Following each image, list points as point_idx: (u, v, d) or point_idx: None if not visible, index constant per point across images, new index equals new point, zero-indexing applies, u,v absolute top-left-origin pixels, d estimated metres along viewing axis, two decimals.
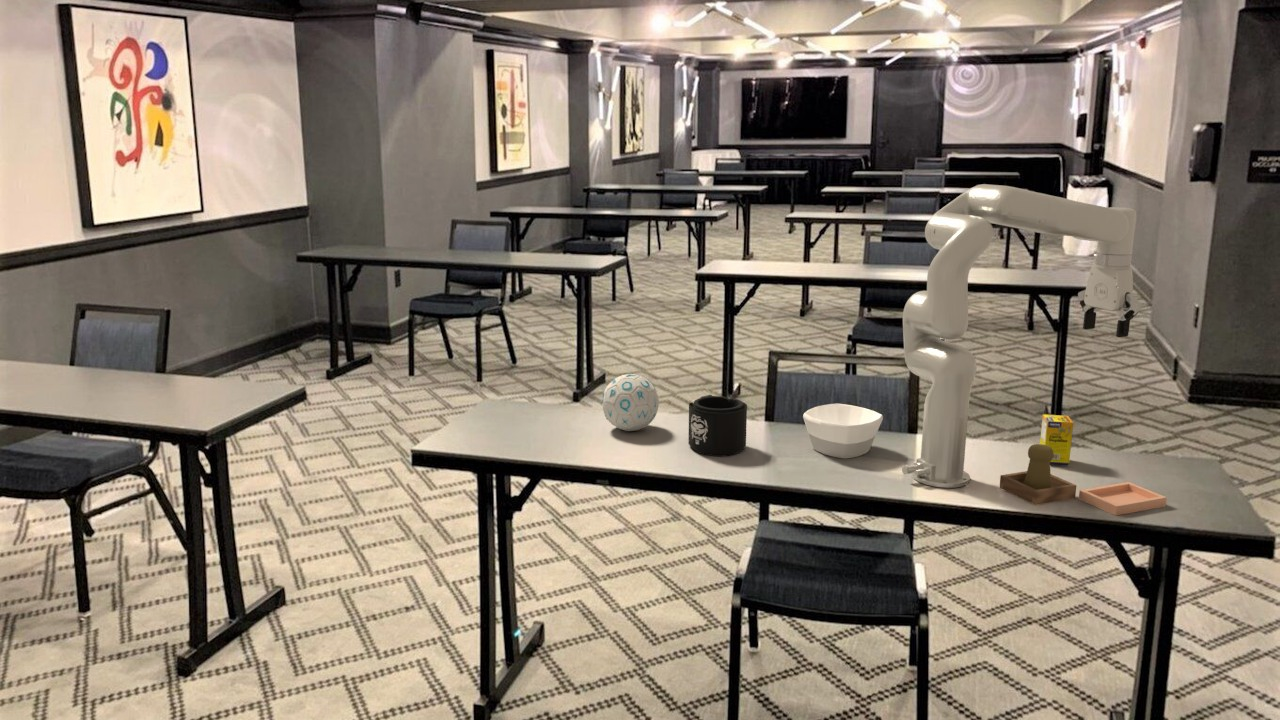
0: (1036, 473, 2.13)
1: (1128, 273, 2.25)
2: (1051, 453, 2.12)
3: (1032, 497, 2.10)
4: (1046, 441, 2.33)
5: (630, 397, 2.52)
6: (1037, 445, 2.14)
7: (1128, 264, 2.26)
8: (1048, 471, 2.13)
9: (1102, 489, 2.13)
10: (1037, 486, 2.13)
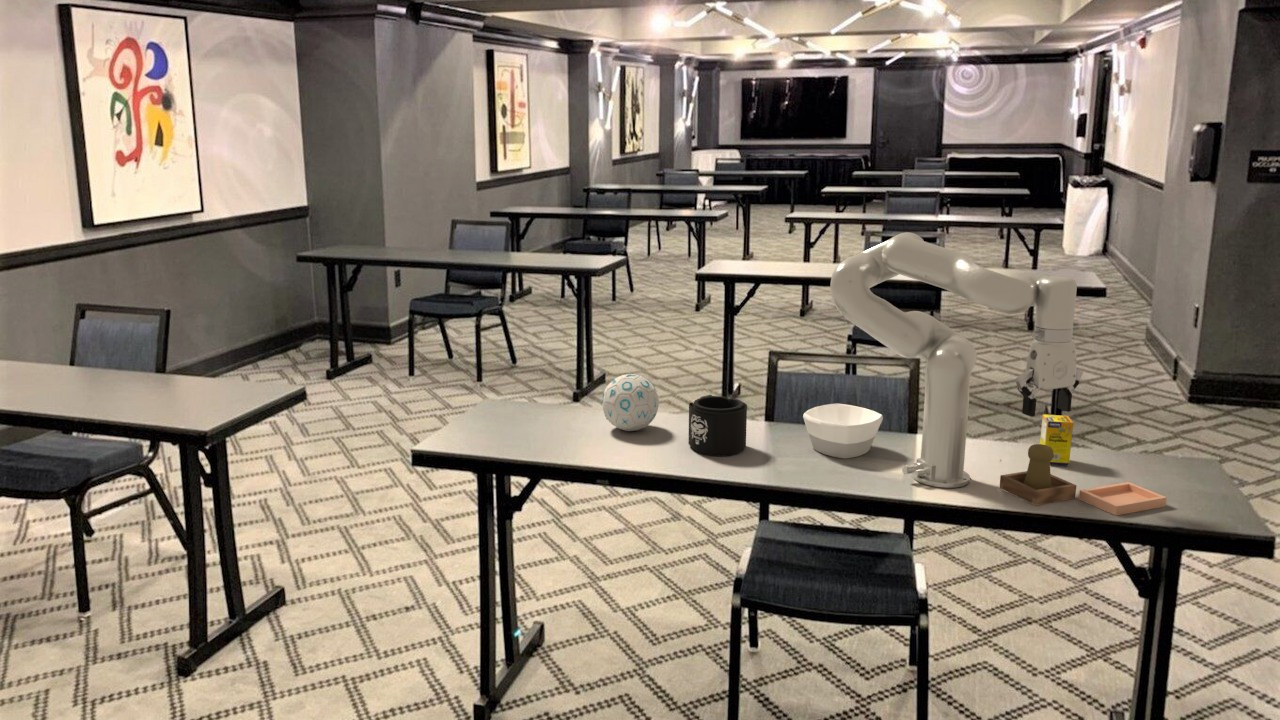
0: (1036, 473, 2.13)
1: None
2: (1051, 453, 2.12)
3: (1032, 497, 2.10)
4: (1046, 441, 2.33)
5: (630, 397, 2.52)
6: (1037, 445, 2.14)
7: None
8: (1048, 471, 2.13)
9: (1102, 489, 2.13)
10: (1037, 486, 2.13)
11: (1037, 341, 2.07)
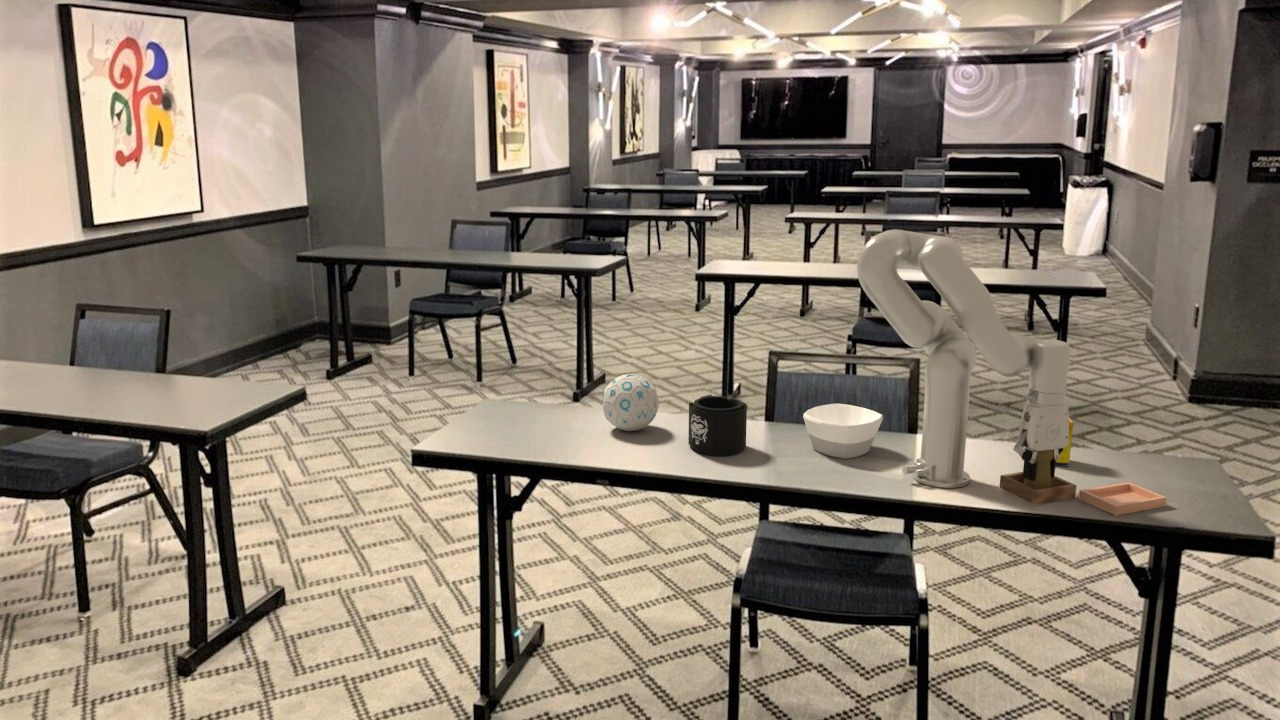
0: (1037, 473, 2.13)
1: None
2: (1051, 453, 2.12)
3: (1032, 497, 2.10)
4: None
5: (630, 397, 2.52)
6: None
7: None
8: (1048, 471, 2.13)
9: (1102, 489, 2.13)
10: (1037, 486, 2.13)
11: (1030, 403, 2.10)
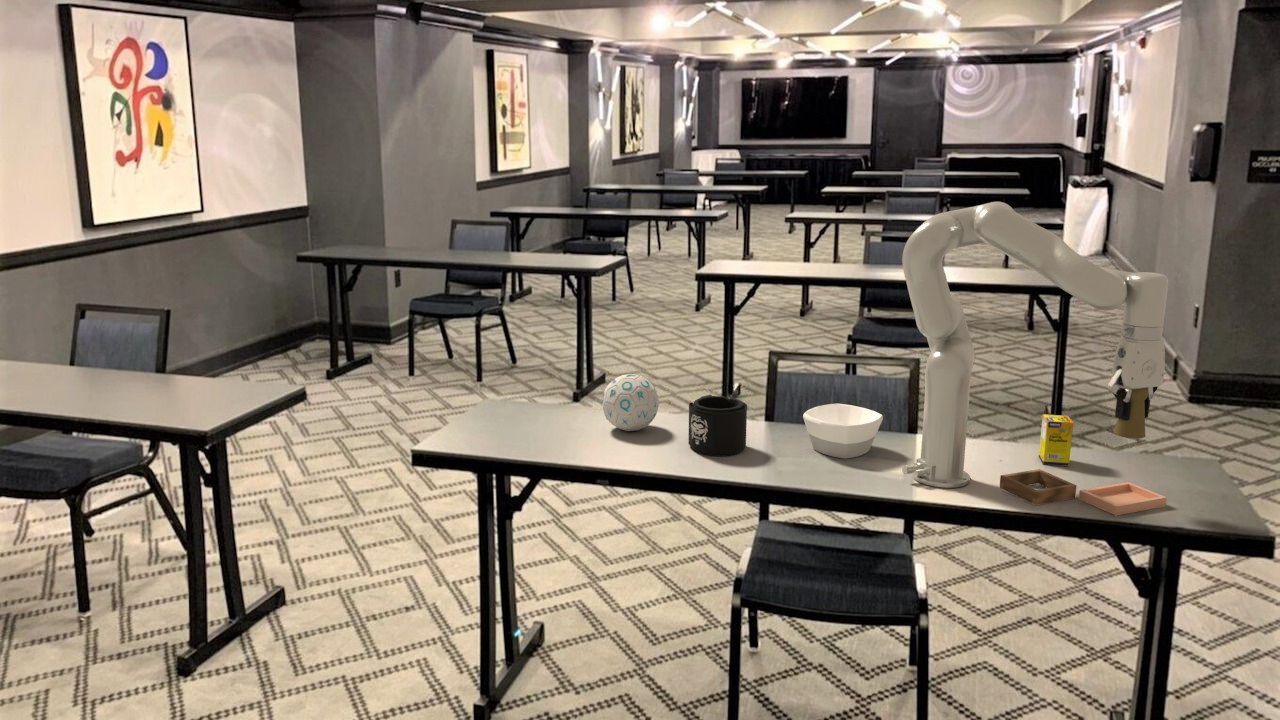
0: (1131, 412, 2.04)
1: None
2: (1146, 391, 2.03)
3: (1032, 497, 2.10)
4: (1046, 441, 2.33)
5: (630, 397, 2.52)
6: None
7: None
8: (1143, 410, 2.04)
9: (1102, 489, 2.13)
10: (1131, 425, 2.04)
11: (1125, 339, 2.01)
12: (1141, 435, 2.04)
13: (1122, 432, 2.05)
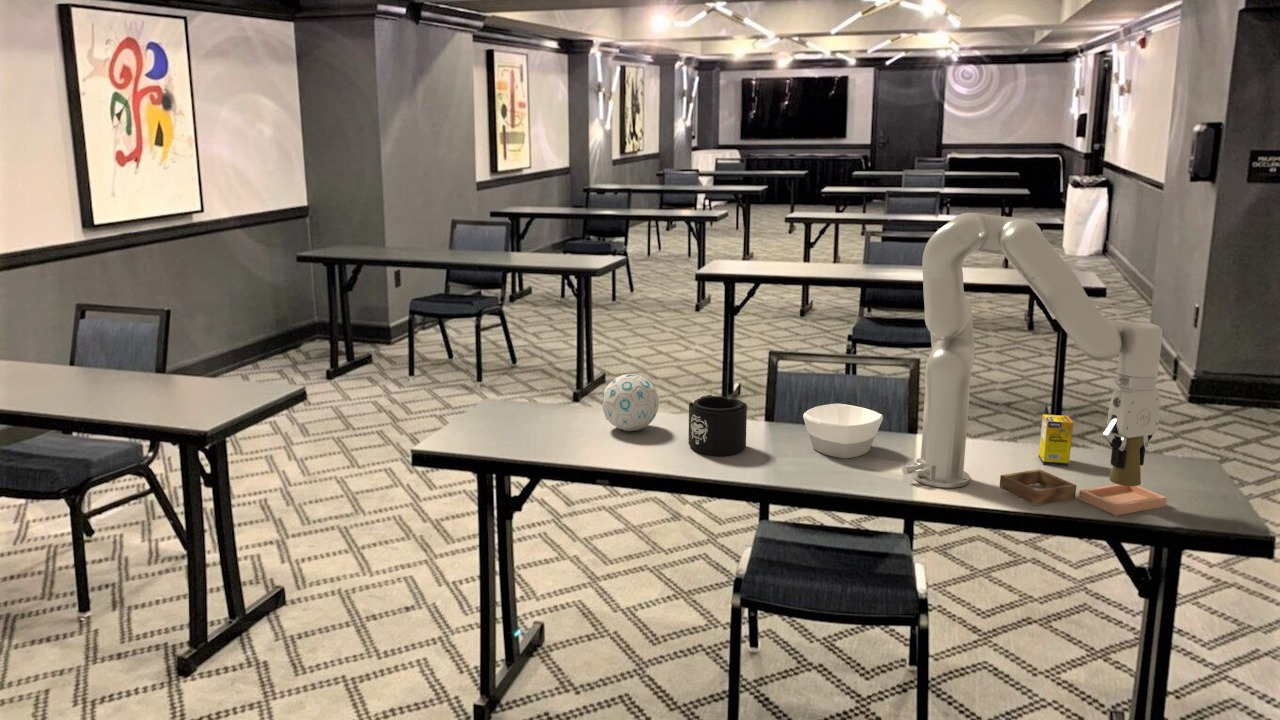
0: (1126, 461, 2.06)
1: None
2: (1141, 439, 2.05)
3: (1032, 497, 2.10)
4: (1046, 441, 2.33)
5: (630, 397, 2.52)
6: None
7: None
8: (1138, 458, 2.06)
9: (1102, 489, 2.13)
10: (1126, 473, 2.06)
11: (1120, 388, 2.04)
12: (1136, 483, 2.07)
13: (1117, 480, 2.08)
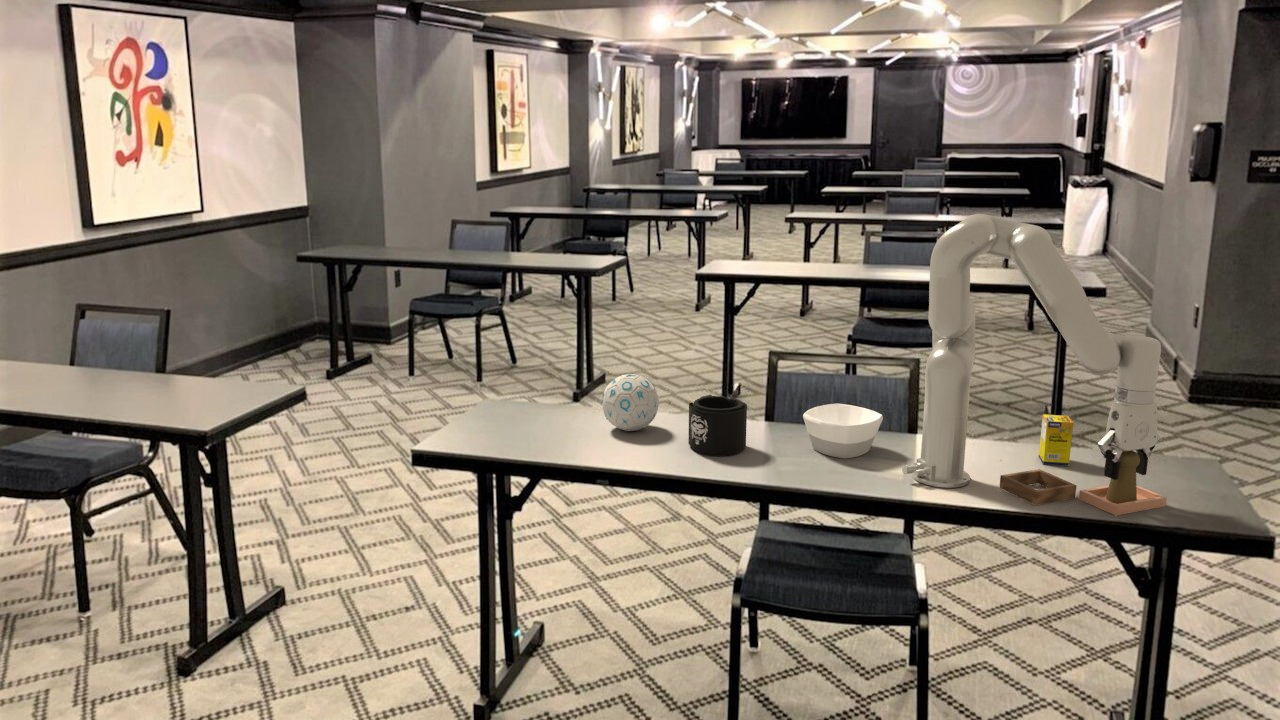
0: (1122, 479, 2.07)
1: None
2: (1138, 459, 2.06)
3: (1032, 497, 2.10)
4: (1046, 441, 2.33)
5: (630, 397, 2.52)
6: None
7: None
8: (1134, 477, 2.07)
9: (1102, 489, 2.13)
10: (1122, 492, 2.08)
11: (1119, 402, 2.04)
12: None
13: (1114, 498, 2.09)
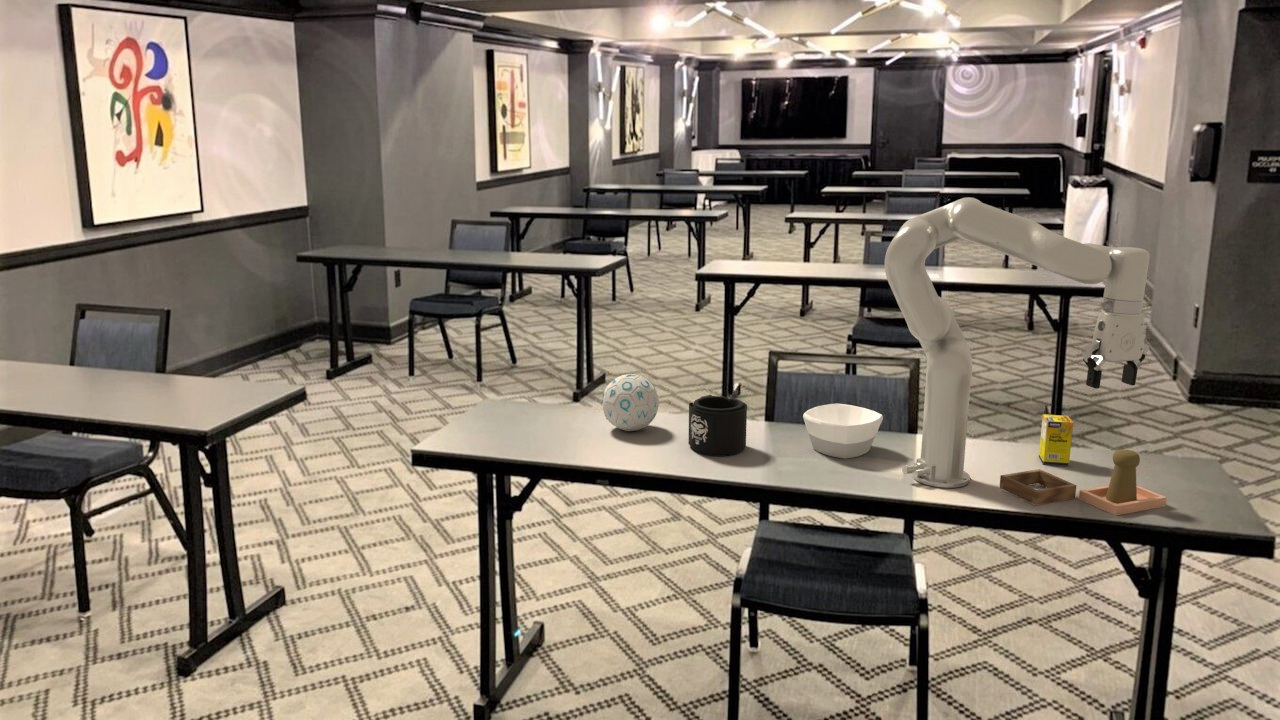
0: (1122, 479, 2.07)
1: None
2: (1138, 459, 2.06)
3: (1032, 497, 2.10)
4: (1046, 441, 2.33)
5: (630, 397, 2.52)
6: (1123, 450, 2.08)
7: None
8: (1134, 477, 2.07)
9: (1102, 489, 2.13)
10: (1122, 492, 2.08)
11: (1106, 312, 2.05)
12: None
13: (1114, 498, 2.09)
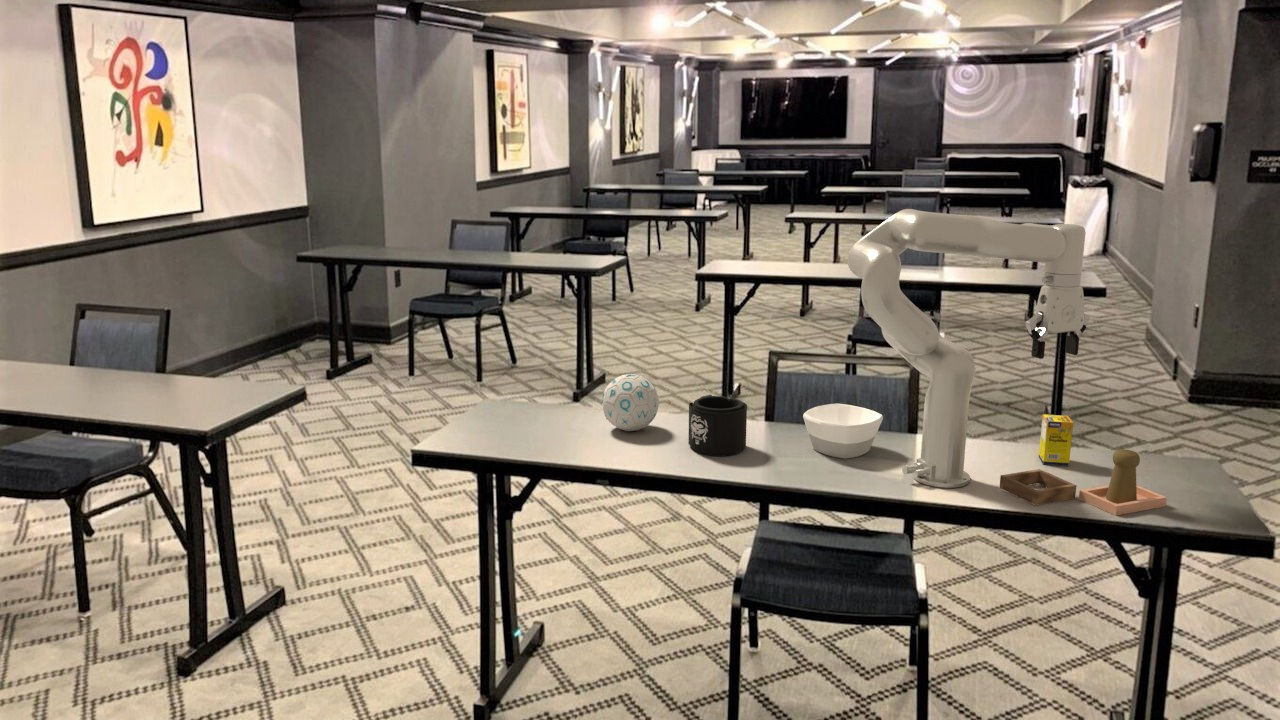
0: (1122, 479, 2.07)
1: None
2: (1138, 459, 2.06)
3: (1032, 497, 2.10)
4: (1046, 441, 2.33)
5: (630, 397, 2.52)
6: (1123, 450, 2.08)
7: None
8: (1134, 477, 2.07)
9: (1102, 489, 2.13)
10: (1122, 492, 2.08)
11: (1047, 286, 2.16)
12: None
13: (1114, 498, 2.09)
